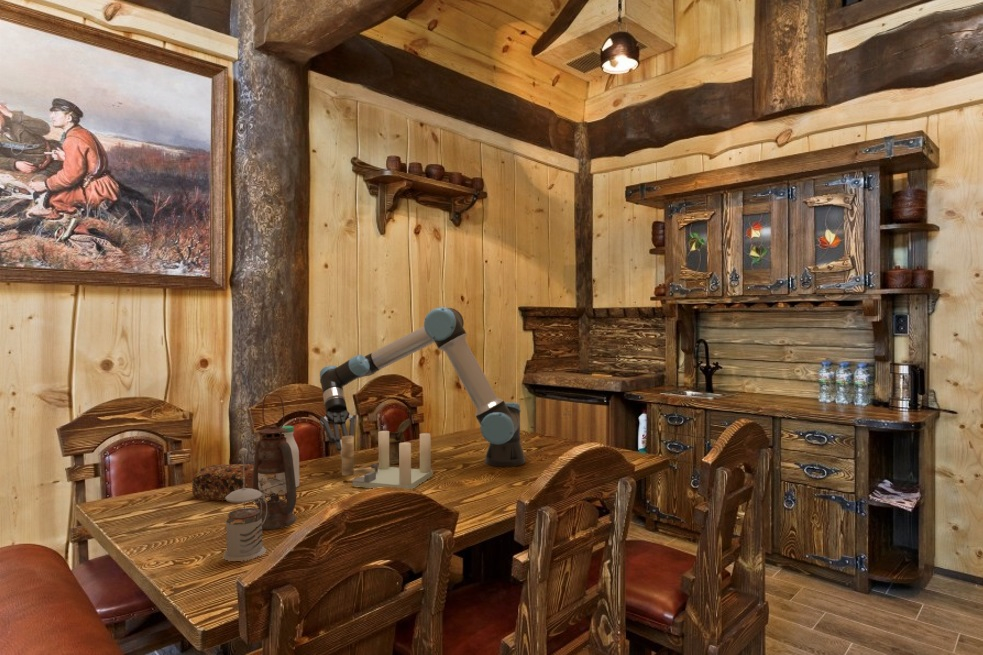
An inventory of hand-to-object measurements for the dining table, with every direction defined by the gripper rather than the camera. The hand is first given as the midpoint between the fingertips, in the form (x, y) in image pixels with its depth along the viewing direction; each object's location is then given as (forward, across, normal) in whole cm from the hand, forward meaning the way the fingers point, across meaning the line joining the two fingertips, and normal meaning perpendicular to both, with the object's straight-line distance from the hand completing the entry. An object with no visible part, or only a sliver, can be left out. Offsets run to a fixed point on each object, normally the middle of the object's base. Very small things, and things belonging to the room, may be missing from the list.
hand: (345, 457), depth 203 cm
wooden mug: (-4, -22, -15) cm, 27 cm away
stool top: (+12, -14, +2) cm, 19 cm away
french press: (+43, +36, +32) cm, 64 cm away
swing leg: (+6, -4, -1) cm, 7 cm away
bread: (+7, +37, -5) cm, 38 cm away
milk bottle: (+6, +19, -6) cm, 21 cm away
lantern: (+30, +27, +19) cm, 44 cm away
